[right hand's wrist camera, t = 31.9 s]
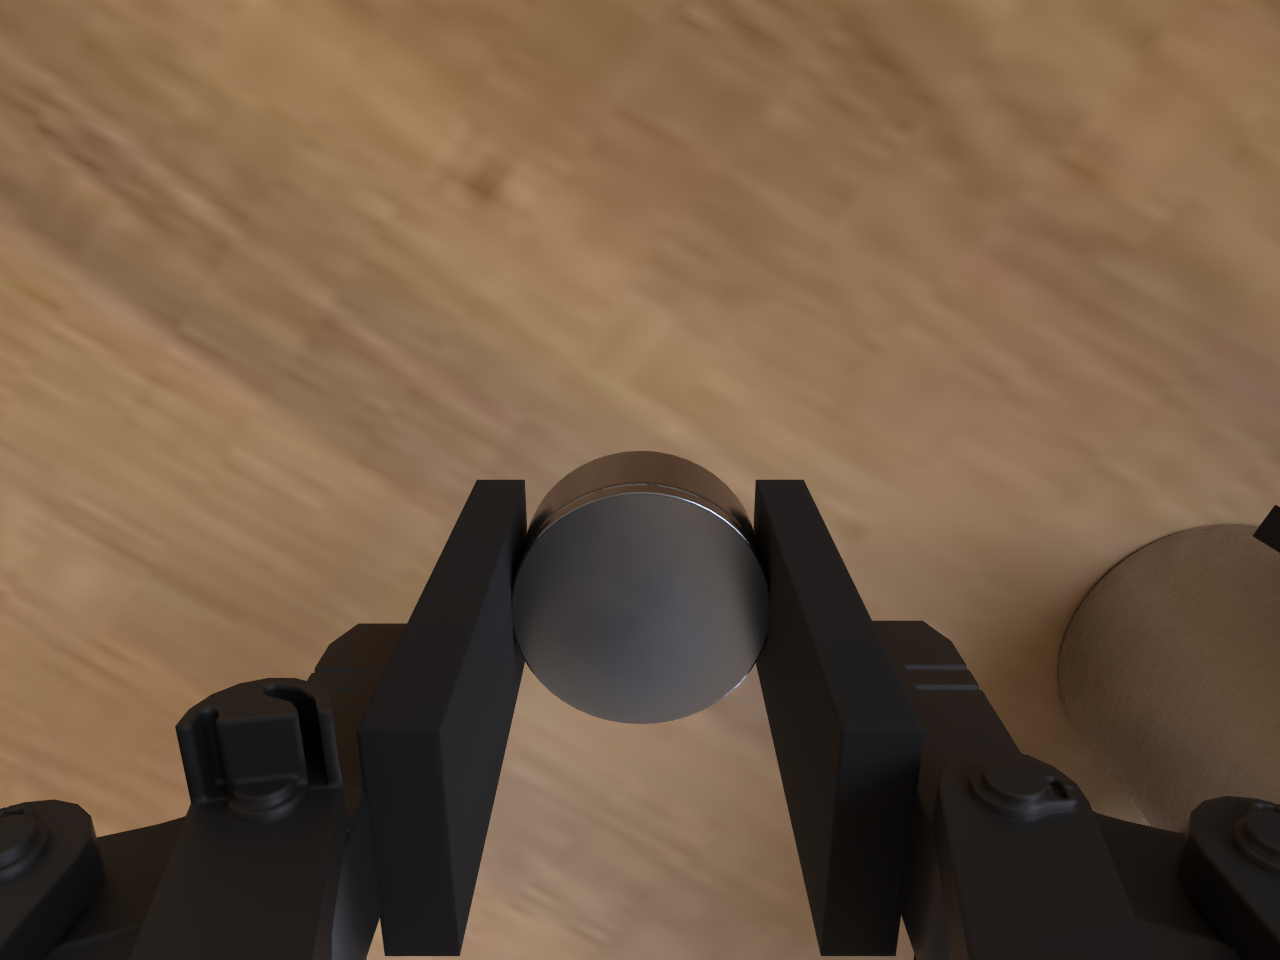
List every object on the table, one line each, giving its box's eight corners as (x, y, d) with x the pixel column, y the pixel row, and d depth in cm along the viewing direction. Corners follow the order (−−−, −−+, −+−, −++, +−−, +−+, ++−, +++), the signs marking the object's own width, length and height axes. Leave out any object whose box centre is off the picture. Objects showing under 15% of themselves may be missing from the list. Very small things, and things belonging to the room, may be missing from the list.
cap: (765, 646, 15) (781, 710, 13) (545, 670, 15) (533, 736, 14) (745, 435, 14) (761, 477, 12) (506, 463, 14) (488, 508, 12)
